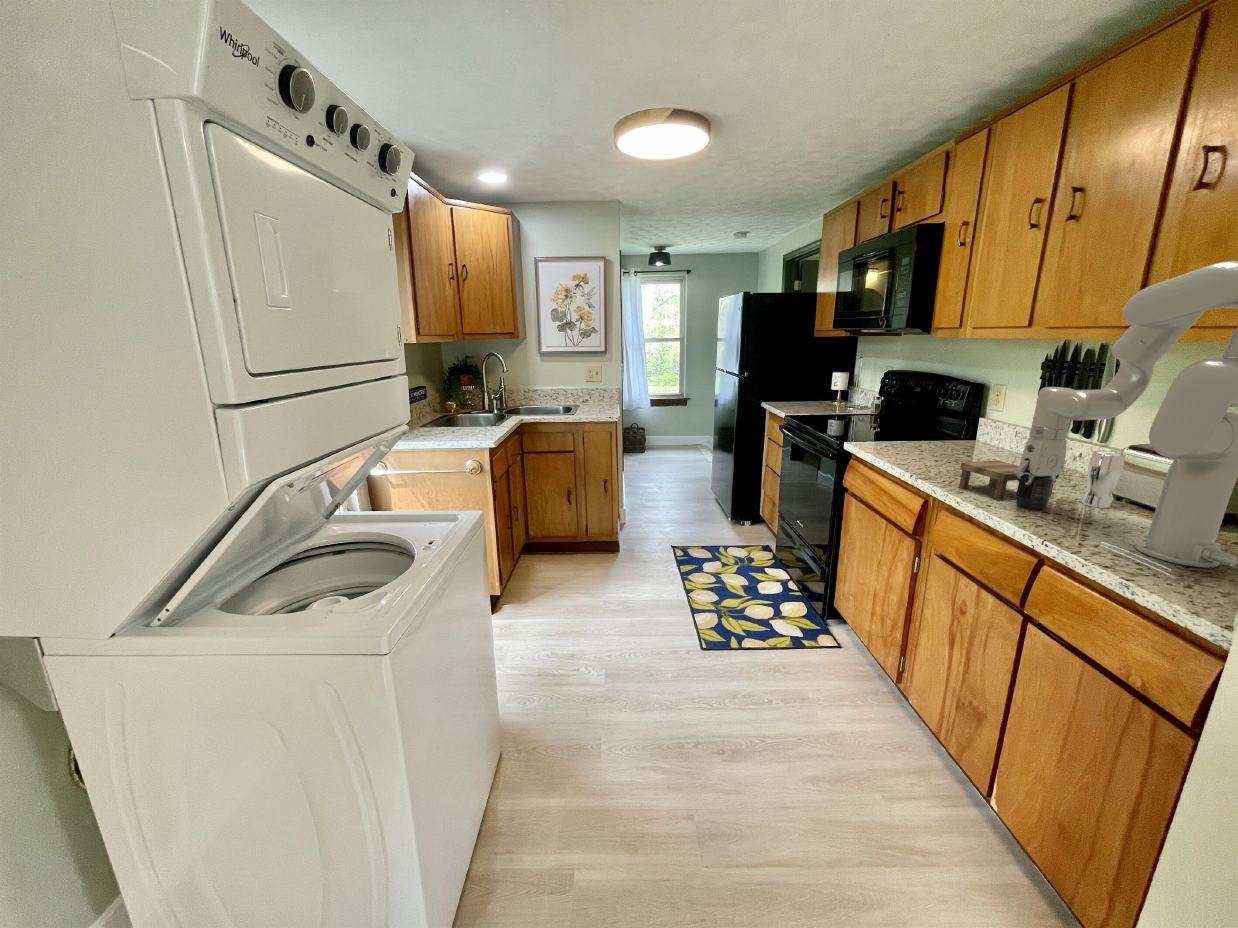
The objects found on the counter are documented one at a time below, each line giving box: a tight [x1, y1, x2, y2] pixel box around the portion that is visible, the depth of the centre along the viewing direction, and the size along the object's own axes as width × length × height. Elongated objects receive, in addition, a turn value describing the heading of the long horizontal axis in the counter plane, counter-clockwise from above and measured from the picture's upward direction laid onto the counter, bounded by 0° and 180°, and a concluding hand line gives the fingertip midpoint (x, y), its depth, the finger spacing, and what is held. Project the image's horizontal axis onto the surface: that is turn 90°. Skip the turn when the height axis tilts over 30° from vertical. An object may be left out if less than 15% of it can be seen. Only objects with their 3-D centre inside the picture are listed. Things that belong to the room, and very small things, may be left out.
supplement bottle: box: [1015, 471, 1054, 512], centre depth 138 cm, size 7×7×12 cm
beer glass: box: [1080, 450, 1126, 509], centre depth 141 cm, size 7×7×15 cm
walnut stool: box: [958, 460, 1019, 502], centre depth 151 cm, size 14×14×8 cm
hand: (1033, 496), depth 139 cm, fingers closed on supplement bottle, 6 cm apart
